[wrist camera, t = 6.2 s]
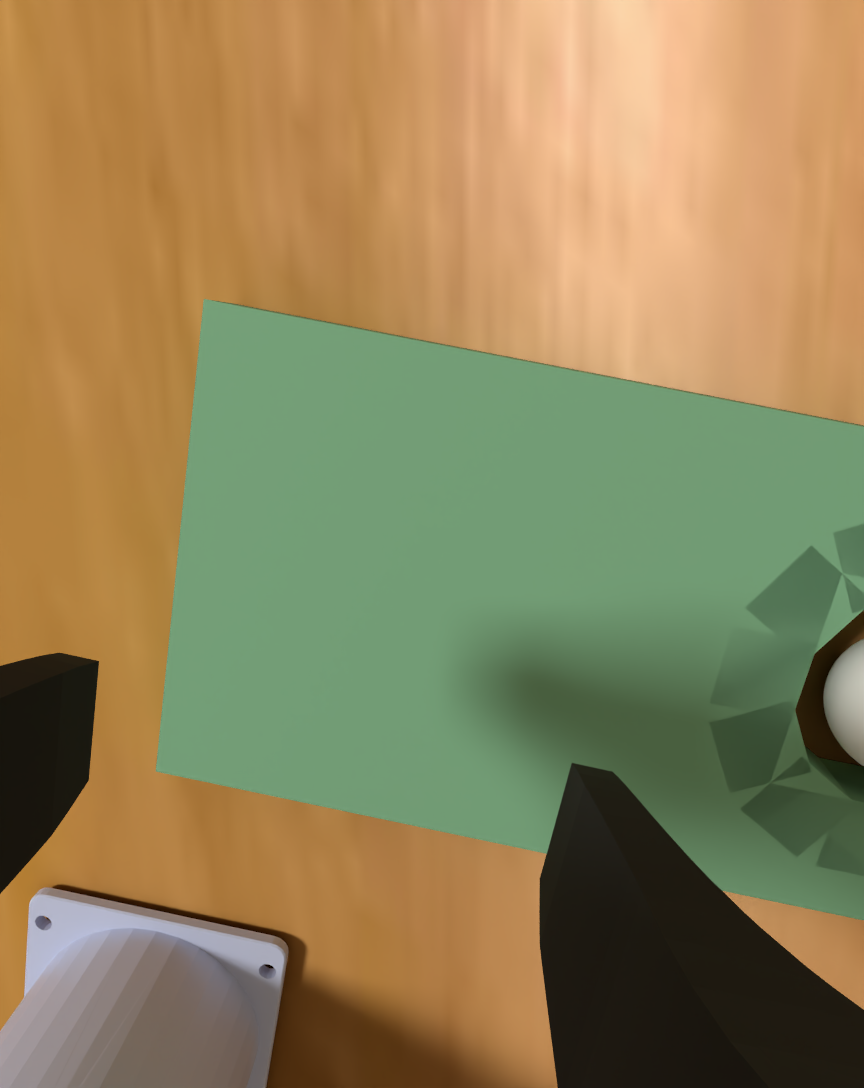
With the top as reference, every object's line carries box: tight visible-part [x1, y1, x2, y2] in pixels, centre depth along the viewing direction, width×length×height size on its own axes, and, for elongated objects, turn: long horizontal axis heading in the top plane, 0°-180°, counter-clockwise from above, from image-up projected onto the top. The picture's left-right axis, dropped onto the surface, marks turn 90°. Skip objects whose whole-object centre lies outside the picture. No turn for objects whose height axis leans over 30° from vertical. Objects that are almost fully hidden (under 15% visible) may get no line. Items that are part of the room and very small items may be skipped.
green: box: [156, 299, 864, 920], centre depth 17 cm, size 12×24×7 cm, turn 80°
